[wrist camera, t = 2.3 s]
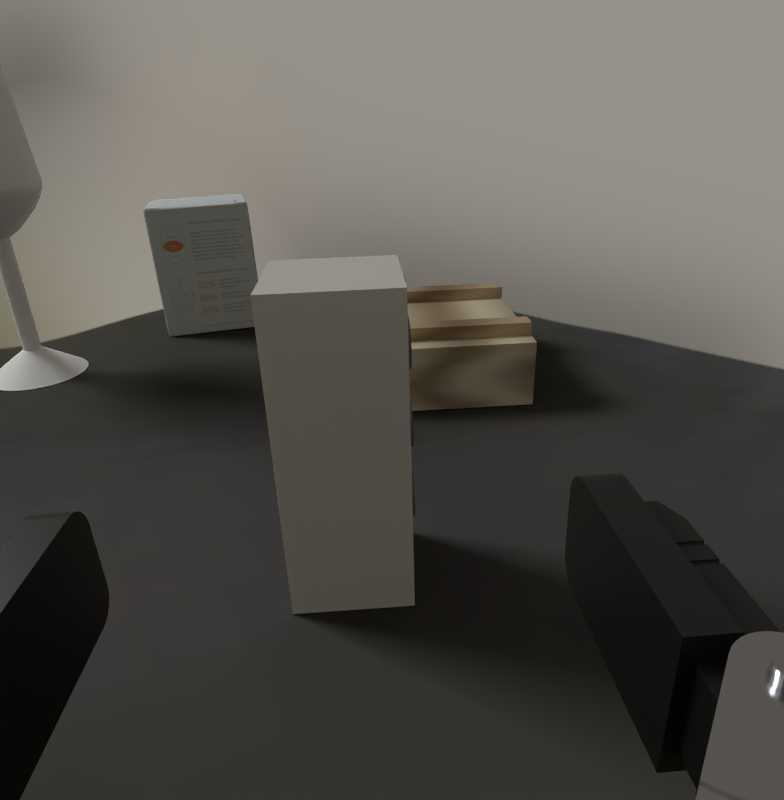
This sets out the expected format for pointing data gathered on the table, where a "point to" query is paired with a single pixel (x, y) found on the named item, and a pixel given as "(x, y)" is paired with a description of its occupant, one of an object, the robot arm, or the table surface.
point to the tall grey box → (340, 427)
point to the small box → (203, 262)
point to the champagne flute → (3, 216)
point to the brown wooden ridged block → (468, 349)
